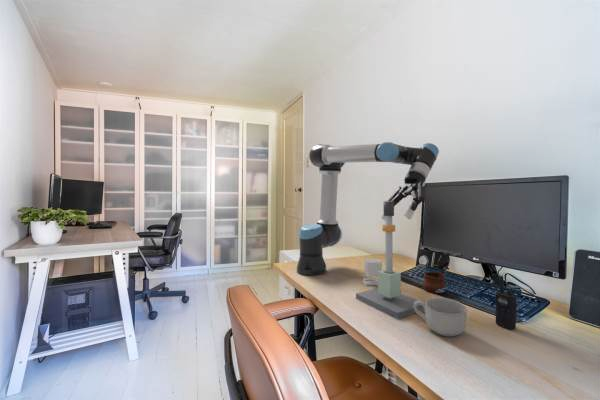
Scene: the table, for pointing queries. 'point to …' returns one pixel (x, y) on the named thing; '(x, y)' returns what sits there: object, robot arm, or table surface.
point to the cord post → (398, 304)
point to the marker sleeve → (389, 284)
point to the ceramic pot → (433, 281)
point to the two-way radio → (505, 307)
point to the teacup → (443, 315)
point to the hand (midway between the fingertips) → (395, 218)
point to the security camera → (372, 271)
